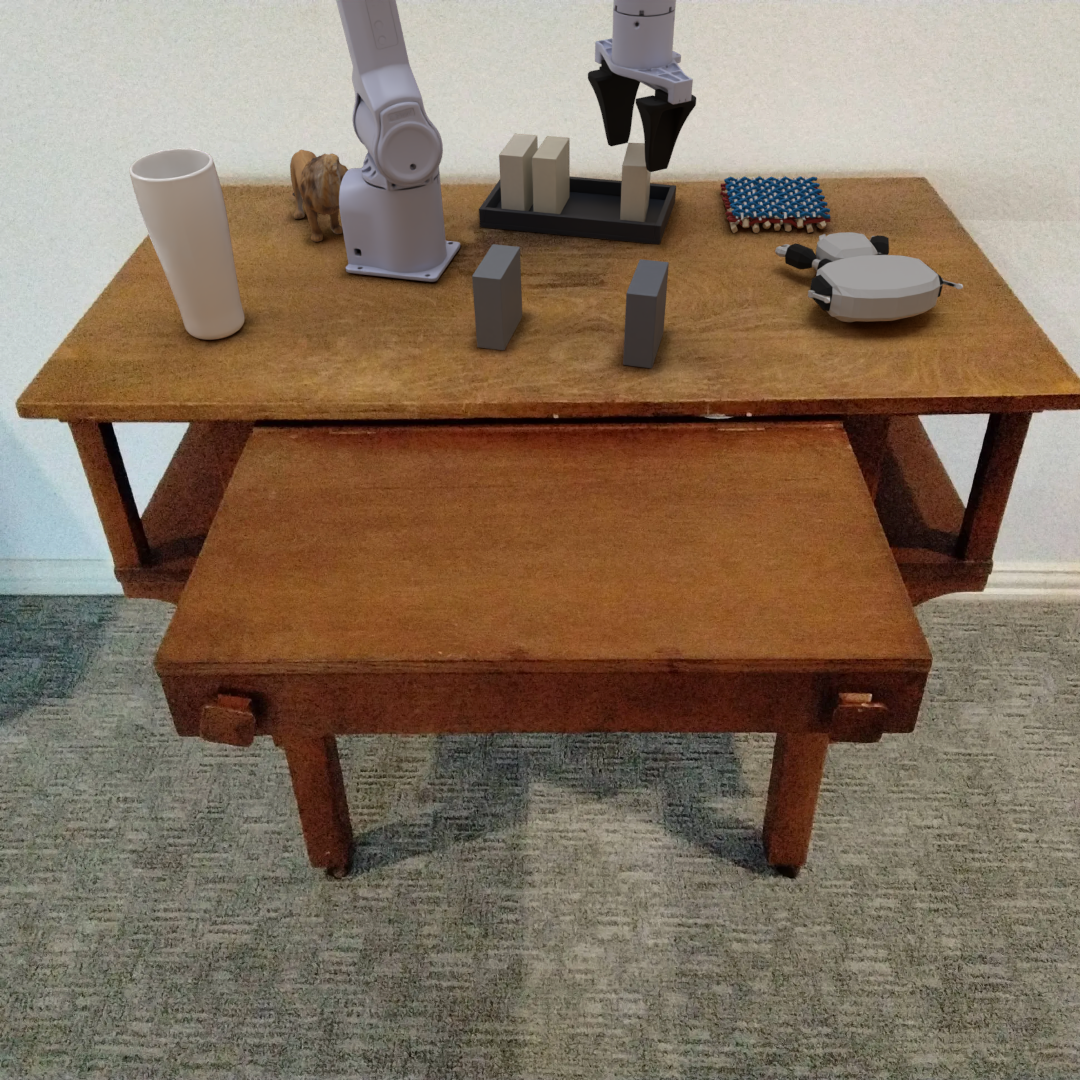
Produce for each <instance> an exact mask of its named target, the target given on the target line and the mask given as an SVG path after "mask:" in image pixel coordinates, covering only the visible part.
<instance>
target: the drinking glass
mask: <svg viewBox="0 0 1080 1080" xmlns="http://www.w3.org/2000/svg"><path fill="white" fill-rule="evenodd" d="M128 174H129V177H130V182H131V185H132V188H133V193H134V196H135V200H136V204H137V206H138V209H139V212H140V215H141V217H142V221H143V223H144V226H145V229H146V231H147V234H148V237H149V239H150V242H151V243H152V247H153V249H154V251H155V254H156V256H157V258H158V261H159V263H160V265H161V268H162V271H163V273H164V275H165V278H166V280H167V283H168V285H169V287H170V290H171V293H172V295H173V298H174V300H175V303H176V306H177V308H178V310H179V311H178V312H179V314H180V316H181V319H182V323H183V327H184V328H185V331H186V332H187V333H188V334H189V335H190V336H191V337H193V338H196V339H199V340H205V341H206V340H208V341H211V340H220V339H224V338H227V337H230V336H232V335H234V334H236V333H237V332H238V331H240V330H241V329H242V328H243V326H244V324H245V320H246V315H245V311H244V308H243V303H242V300H241V299H242V298H241V294H240V287H239V282H238V275H237V268H236V262H235V255H234V250H233V243H232V237H231V230H230V223H229V217H228V212H227V207H226V202H225V197H224V194H223V189H222V186H221V181H220V177H219V174H218V171H217V167H216V164H215V161H214V157H213V156H212V155H211V154H210V153H208V152H206V151H205V150H202V149H198V148H189V147H188V148H187V147H181V148H180V147H179V148H177V147H176V148H168V149H162V150H158V151H153V152H151V153H148V154H145V155H143V156H140V157H138V158H137V159H135V160H134V161H133V162H132V163H131V164H130V165H129V168H128Z"/></svg>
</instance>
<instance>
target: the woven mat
mask: <svg viewBox="0 0 1080 1080" xmlns="http://www.w3.org/2000/svg"><path fill="white" fill-rule="evenodd" d="M817 180H818V177H816V176H811V177H807V176H805V177H803V176H802V175H798V177H792V178H790V177H788V176H786V175H784V176H783V177H781V176H779V177H777V178H776V177H774V176H769V177H767V176H766V177H765V176H764V177H762V176H760V175H758V176H757V177H754V176H753V177H752V178H749V177H747V176H746V175H745V176H742V177H740V176H738V177H736V178H735V177H734V176H728V177H727V178H726V177H725V178H724V179H723V181H724V183H720V190H721V191H720V193H719V195H720V196H722V197H721V199H722V202H723V203H724V206H725V210H726V211H725V212H724V215H725V216H727V217H726V220H727V222H729V227H730V230H731V231H732V234H735V233H737V232H738V231H739V229H738V226H737V225H740V226H741V227H742V228H743V229H748V228H750V227H751V229H752V231H753V233H754V234H758V233H759V232H760V225H759V224H761V225H762V228H763V229H764V230H768V229H770V228H771V226H772V224H773V229H774V231H775V232H776V231H777V232H779V231H780V229H781V227H782V226H781V225H783V228H784V231H786V232H791V231H792V226H793V227H795V228H797V229H803V228H804V226H805V228H806V231H807V233H808V234H809V233H813V232H814V228H813V224H816V227H817V228H818V229H820V230H823V229H825V228H826V227H827V223H831V219H832V218H831V214H830V213H831V209H830V208H828V207H827V206H828V204H829V203H828V201H823V200H825V198H826V196H825V195H822V192H823V189H821V188H820V185H821V184H820V183H819V182H817Z"/></svg>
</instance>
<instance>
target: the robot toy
mask: <svg viewBox="0 0 1080 1080" xmlns="http://www.w3.org/2000/svg"><path fill="white" fill-rule="evenodd" d="M816 243H817V244H816V247H815V251H814V250H813V249H812V248H810V247H808V246H805V245H803V244H801V243H797V242H796V243H792V244H787V243H786V244H782V245H779V246H776V248H775V250H774V253H775V255H776V256H777V257H779V258H784V261H785V262H784V264H786V265H788V266H790V267H793V268H795V269H797V270H806V269H811V268H813V270H814V271H815V272H816V274H815V275H816V276H814V277H812V278H811V282H810V289H809V290H807V298H810V299H812V300H813V301H814V302H815V303H816V304H817V306H819V308H820V309H822V311H825V312H827V314H828V315H829V316H830V317H832V318H835V319H836V320H838V321H840V322H843V323H854V322H892V321H898V320H902V319H907V318H911V317H915V316H918V315H922V314H924V313H926V312H929V310H931V309H933V308H934V307H935V306H936V305H937V302H938V298H939V297H941V295H942V290H943V287H944V285H945V286H949V287H952V288H955V289H957V290H962V289H964V285H963V284H962V283H956V282H953V281H948V280H945V279H944V277H942V276H941V275H940V274H939V273H937V272H936V271H935V270H934V269H932V267H930V266H929V265H928V264H926V263H925V262H923V261H922V260H921V259H920V258H916V257H911V256H906V255H897V254H890V238H889V237H887V236H885V235H872V236H870V238H868V237H867V236H866V235H865V234H864V233H860V232H854V231H853V232H852V231H849V232H846V231H845V232H841V231H840V232H837V233H836V232H835V233H829V234H828V235H826V233H823V234H821V235H819V236H818V241H817V242H816Z"/></svg>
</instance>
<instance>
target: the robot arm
mask: <svg viewBox="0 0 1080 1080" xmlns="http://www.w3.org/2000/svg"><path fill="white" fill-rule="evenodd" d="M335 2H336V4H337V9H338V15H339V18H340V21H341V25H342V30H343V33H344V37H345V41H346V45H347V49H348V53H349V56H350V61H351V65H352V73H351V82H352V86H353V90H354V97H355V98H354V106H353V110H352V117H351V118H352V128H353V131H354V133H355V135H356V137H357V138H358V140H359V142H360V143H361V144H362V145H363V146H364V147H365V149H366V150H367V153H366V154H365V156H364V160H363V164H362V166H361V167H352V168H349V169H348V171H347V172H346V173H345V175H344V177H343V179H342V182H341V185H340V192H339V216H340V221H341V226H342V228H343V233H342V234H343V241H344V246H345V252H346V259H347V262H348V263H347V265H346V266H345V272H346V273H347V274H348V273H349V274H356V275H366V276H374V277H382V278H383V277H384V278H391V279H392V278H393V279H401V280H410V281H421V282H428V283H435V282H437V281H438V280H439V279H440V277H441V276H442V274H443V273H444V272H445V270H446V268H447V267H448V266H449V265H450V263H451V262H452V260H453V258H454V257H455V256H456V254H457V253H458V251H459V250H460V249H461V243H460V242H459V241H453V240H446V228H445V217H444V207H443V196H442V195H443V194H442V185H441V183H442V182H441V173H440V164H441V162H442V158H443V153H444V145H443V140H442V136H441V134H440V131H439V130H438V128H437V127H436V125H435V124H434V123H433V121H432V120H431V119H430V118H429V117H428V114H427V112H426V109H425V106H424V100H423V96H422V93H421V91H420V88H419V86H418V83H417V81H416V78H415V75H414V72H413V70H412V67H411V64H410V60H409V56H408V51H407V47H406V42H405V36H404V33H403V27H402V23H401V17H400V13H399V9H398V4H397V0H335ZM676 5H677V0H613V4H612V6H613V7H612V35H611V36H612V37H611V38H607V39H606V38H605V39H601V40H595V42H594V62H595V63H597V64H598V65H600V66H599V68H598V69H593V70H590V71H588V72H587V79H588V80H587V81H588V82H589V84H590V87H591V88H592V90H593V92H594V95H595V97H596V100H597V102H598V106H599V110H600V114H601V118H602V123H603V128H604V133H605V138H606V142H607V145H608V146H610V147H616V146H619V145H620V146H621V145H625V144H628V143H629V140H630V136H631V133H632V132H631V131H632V123H633V115H634V114H633V113H634V107H635V105H636V107H637V110H638V113H639V117H640V120H641V124H642V129H643V138H644V143H645V163H646V168H647V170H648V171H649V172H651V173H655V172H659V171H663V170H666V169H668V167H669V164H670V162H671V158H672V155H673V151H674V148H675V145H676V143H677V140H678V137H679V135H680V132H681V130H682V128H683V126H684V124H685V123H686V121H687V119H688V117H689V116H690V114H691V113H692V112H693V110H694V109H695V107H696V105H697V97H696V96H695V95H693V83H694V82H693V81H694V79H693V78H691V77H690V76H688V75H687V74H686V73H685V72H684V71H683V69H682V67H680V65H679V64H680V63H681V62H682V54H680V53H678V52H676V51H674V49H673V48H674V46H673V45H674V35H675V34H674V33H675V19H676ZM640 84H643V85H645V86H647V87H649V88H650V89H653V90H654V94H651V95H648V96H647V95H646V96H642V97H638V98H637V95H638V90H639V89H640V88H639V87H640Z"/></svg>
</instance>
